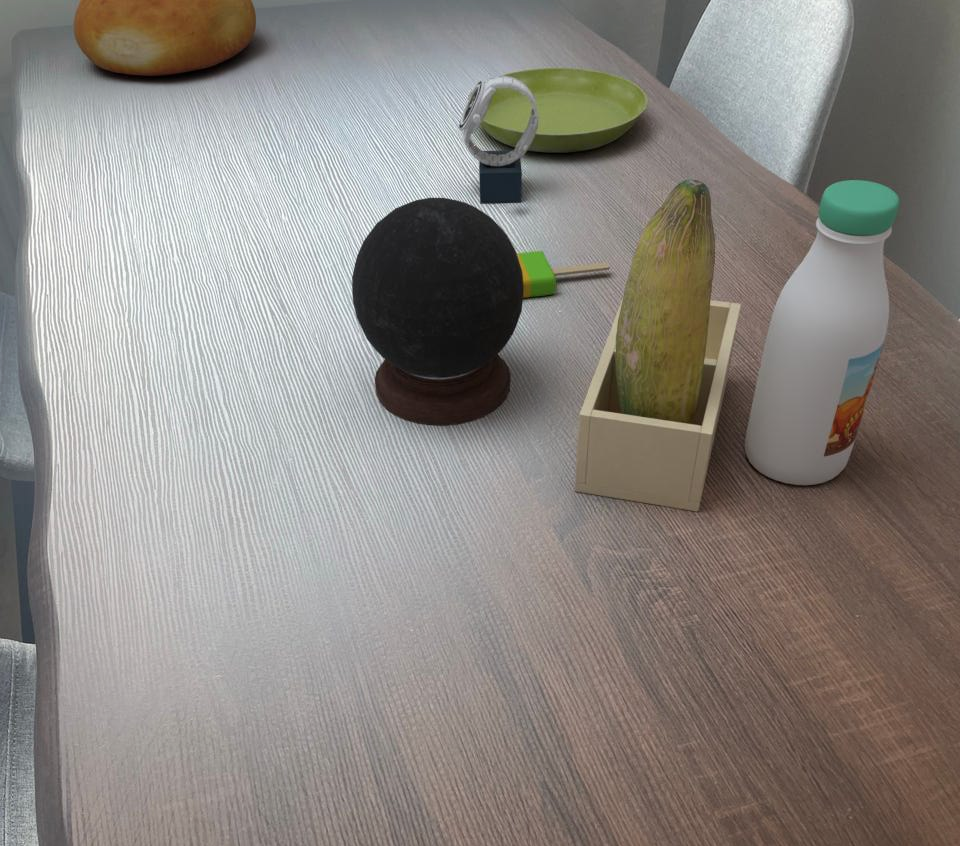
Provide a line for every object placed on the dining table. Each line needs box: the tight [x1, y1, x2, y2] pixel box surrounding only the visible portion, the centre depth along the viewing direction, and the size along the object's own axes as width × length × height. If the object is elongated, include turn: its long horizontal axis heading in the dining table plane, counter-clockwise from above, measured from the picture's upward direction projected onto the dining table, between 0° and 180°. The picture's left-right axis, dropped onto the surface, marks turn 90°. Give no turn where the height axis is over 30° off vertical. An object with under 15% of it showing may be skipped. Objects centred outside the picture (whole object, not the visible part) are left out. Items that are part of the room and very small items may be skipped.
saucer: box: [466, 67, 648, 154], centre depth 119 cm, size 21×21×3 cm
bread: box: [73, 0, 257, 77], centre depth 135 cm, size 23×23×10 cm
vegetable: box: [615, 178, 716, 424], centre depth 69 cm, size 6×6×20 cm
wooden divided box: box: [574, 297, 742, 513], centre depth 77 cm, size 9×17×7 cm, turn 164°
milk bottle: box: [744, 179, 900, 486], centre depth 70 cm, size 8×8×20 cm
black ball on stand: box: [351, 197, 524, 426], centre depth 79 cm, size 13×13×15 cm
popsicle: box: [516, 250, 611, 299], centre depth 95 cm, size 6×15×2 cm, turn 101°
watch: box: [458, 75, 539, 204], centre depth 105 cm, size 6×8×11 cm
